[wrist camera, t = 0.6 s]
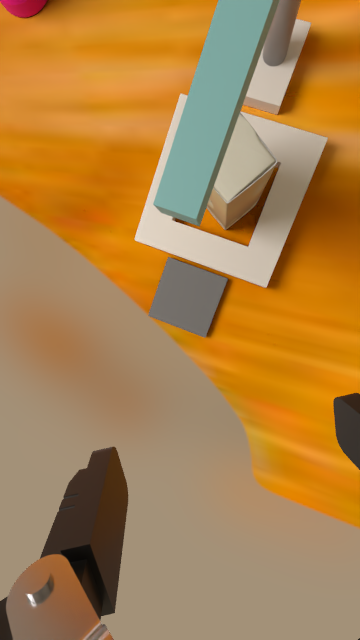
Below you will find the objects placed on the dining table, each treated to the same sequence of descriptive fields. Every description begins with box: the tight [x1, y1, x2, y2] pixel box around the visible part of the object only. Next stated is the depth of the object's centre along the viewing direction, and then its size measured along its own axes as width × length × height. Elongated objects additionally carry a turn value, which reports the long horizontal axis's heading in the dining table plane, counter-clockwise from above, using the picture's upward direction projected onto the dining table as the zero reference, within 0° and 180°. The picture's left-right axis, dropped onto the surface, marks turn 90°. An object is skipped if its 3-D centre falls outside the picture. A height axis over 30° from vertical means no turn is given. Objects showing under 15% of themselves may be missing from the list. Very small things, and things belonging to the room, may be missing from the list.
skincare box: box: [174, 112, 277, 230], centre depth 25 cm, size 6×4×12 cm
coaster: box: [148, 257, 228, 337], centre depth 33 cm, size 7×7×1 cm
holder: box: [134, 0, 328, 288], centre depth 22 cm, size 24×15×17 cm, turn 160°
